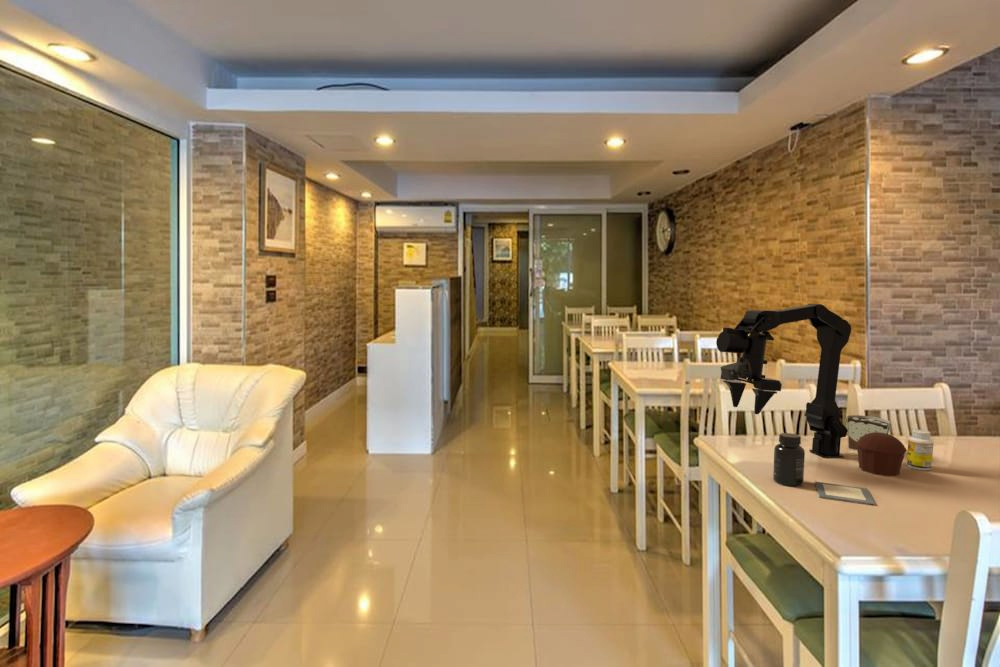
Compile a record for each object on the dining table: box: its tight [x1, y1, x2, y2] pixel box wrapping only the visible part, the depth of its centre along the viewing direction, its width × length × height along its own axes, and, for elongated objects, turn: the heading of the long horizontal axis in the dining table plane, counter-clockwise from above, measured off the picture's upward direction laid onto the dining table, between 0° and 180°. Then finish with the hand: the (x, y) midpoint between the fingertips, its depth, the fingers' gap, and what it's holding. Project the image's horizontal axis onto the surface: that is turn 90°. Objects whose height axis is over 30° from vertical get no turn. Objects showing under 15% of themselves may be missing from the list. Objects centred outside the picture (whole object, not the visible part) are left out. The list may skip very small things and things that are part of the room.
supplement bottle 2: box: [906, 428, 935, 471], centre depth 157 cm, size 6×6×10 cm
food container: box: [844, 414, 893, 451], centre depth 173 cm, size 12×6×10 cm, turn 34°
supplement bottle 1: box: [772, 432, 806, 487], centre depth 144 cm, size 7×7×12 cm
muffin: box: [856, 432, 908, 477], centre depth 154 cm, size 12×11×10 cm
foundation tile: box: [814, 481, 876, 506], centre depth 137 cm, size 11×11×1 cm
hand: (745, 410), depth 161 cm, fingers open, 9 cm apart
